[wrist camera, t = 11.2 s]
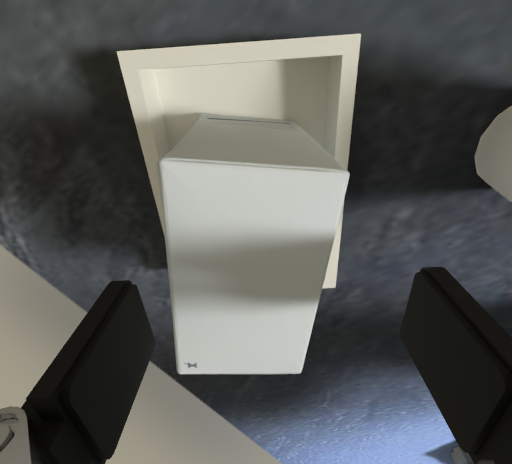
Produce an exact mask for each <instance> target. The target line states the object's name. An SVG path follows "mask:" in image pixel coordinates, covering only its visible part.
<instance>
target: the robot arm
mask: <svg viewBox="0 0 512 464" xmlns="http://www.w3.org/2000/svg"><path fill="white" fill-rule="evenodd" d="M401 338H402V340H403V343H404V344H405V346H406V348H407V350H408V352H409V354H410V356H411V357H412V359H413V361H414V363H415V365H416V367H417V369H418V371H419V372H420V374H421V376H422V378H423V380H424V382H425V384H426V385H427V387H428V389H429V391H430V393H431V395H432V397H433V398H434V400H435V402H436V404H437V406H438V408H439V410H440V411H441V413H442V415H443V417H444V419H445V421H446V423H447V425H448V426H449V428H450V430H451V432H452V434H453V436H454V438H455V439H456V441H457V443H458V445H459V446H460V448H461V449H462V450H463V451H464V452H465V453H469V455H470V457H471V459H472V461H473V462H474V464H512V338H511V337H510V336H509V335H508V334H507V333H506V332H505V331H504V330H503V329H502V328H501V327H500V326H499V324H498V323H497V322H496V321H495V320H494V319H493V318H492V317H491V316H490V315H489V314H488V313H487V312H486V311H485V310H484V309H483V308H482V307H481V306H480V305H479V304H478V302H477V301H476V300H475V299H474V298H473V297H472V296H471V295H470V294H469V293H468V292H467V291H466V290H465V289H464V288H463V287H462V286H461V285H460V284H459V283H458V282H457V281H456V279H455V278H454V277H453V276H452V275H451V274H450V273H449V272H448V271H447V270H446V269H445V268H443V267H427V268H422V269H421V270H420V272H418V273H416V274H415V277H414V281H413V285H412V288H411V292H410V296H409V300H408V304H407V308H406V312H405V315H404V319H403V323H402V327H401ZM154 346H155V339H154V336H153V333H152V330H151V327H150V324H149V321H148V318H147V315H146V312H145V309H144V306H143V303H142V300H141V297H140V294H139V291H138V288H137V286H136V285H134V284H133V285H132V283H131V282H130V281H128V280H127V281H112V282H110V283H109V284H108V285H107V287H106V288H105V289H104V291H103V292H102V294H101V295H100V296H99V298H98V299H97V301H96V302H95V303H94V305H93V306H92V308H91V309H90V310H89V312H88V313H87V315H86V316H85V317H84V319H83V320H82V322H81V323H80V324H79V326H78V327H77V329H76V330H75V331H74V333H73V334H72V335H71V337H70V338H69V340H68V341H67V342H66V344H65V345H64V346H63V348H62V350H61V351H60V352H59V353H58V355H57V356H56V358H55V359H54V360H53V362H52V363H51V365H50V366H49V367H48V369H47V370H46V372H45V373H44V374H43V376H42V377H41V378H40V380H39V381H38V383H37V384H36V386H35V387H34V388H33V390H32V391H31V392H30V394H29V395H28V397H27V398H26V402H25V403H24V404H23V406H22V407H21V408H19V407H7V408H2V409H0V464H105V462H106V459H110V458H111V457H112V455H113V454H114V451H115V449H116V446H117V444H118V441H119V438H120V436H121V433H122V431H123V428H124V425H125V423H126V420H127V418H128V415H129V413H130V410H131V407H132V405H133V402H134V400H135V397H136V394H137V392H138V389H139V387H140V383H141V381H142V379H143V376H144V374H145V371H146V368H147V365H148V363H149V361H150V358H151V355H152V353H153V350H154Z"/></svg>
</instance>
